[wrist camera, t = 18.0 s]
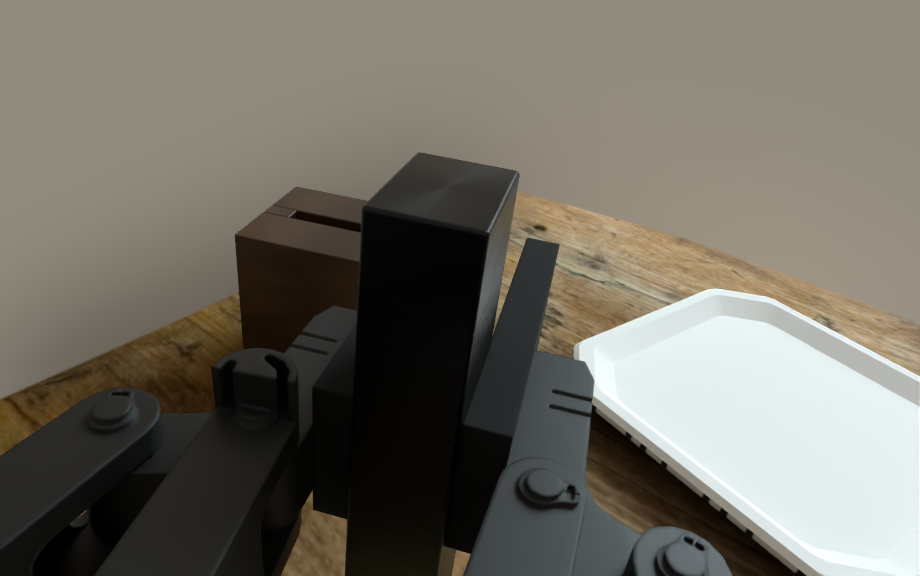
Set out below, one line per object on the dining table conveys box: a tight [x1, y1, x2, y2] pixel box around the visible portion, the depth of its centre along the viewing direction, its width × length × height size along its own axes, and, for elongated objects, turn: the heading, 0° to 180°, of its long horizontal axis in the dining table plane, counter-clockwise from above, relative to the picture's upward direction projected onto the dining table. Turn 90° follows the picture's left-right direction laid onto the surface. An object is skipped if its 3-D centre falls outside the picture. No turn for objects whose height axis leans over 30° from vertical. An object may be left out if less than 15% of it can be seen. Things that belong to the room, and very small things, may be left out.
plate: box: [573, 289, 920, 576], centre depth 38 cm, size 21×21×2 cm
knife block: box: [235, 187, 368, 353], centre depth 38 cm, size 7×7×9 cm
